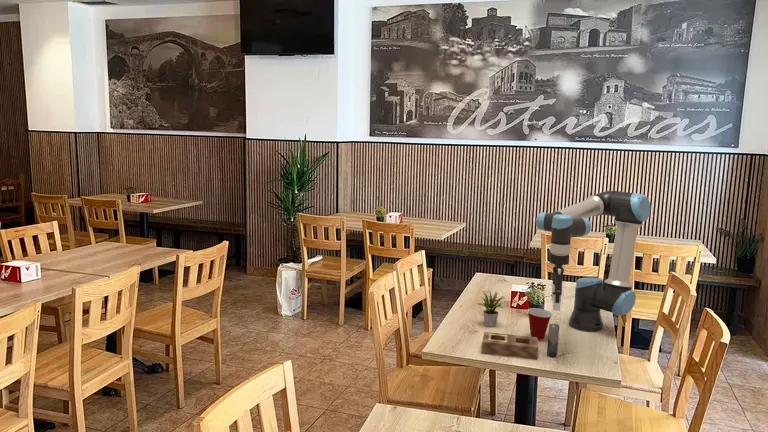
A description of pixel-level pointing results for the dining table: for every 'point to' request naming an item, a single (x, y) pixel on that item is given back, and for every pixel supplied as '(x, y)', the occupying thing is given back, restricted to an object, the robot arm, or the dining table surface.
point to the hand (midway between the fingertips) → (555, 305)
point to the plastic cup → (538, 322)
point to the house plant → (491, 309)
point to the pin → (553, 340)
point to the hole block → (510, 345)
